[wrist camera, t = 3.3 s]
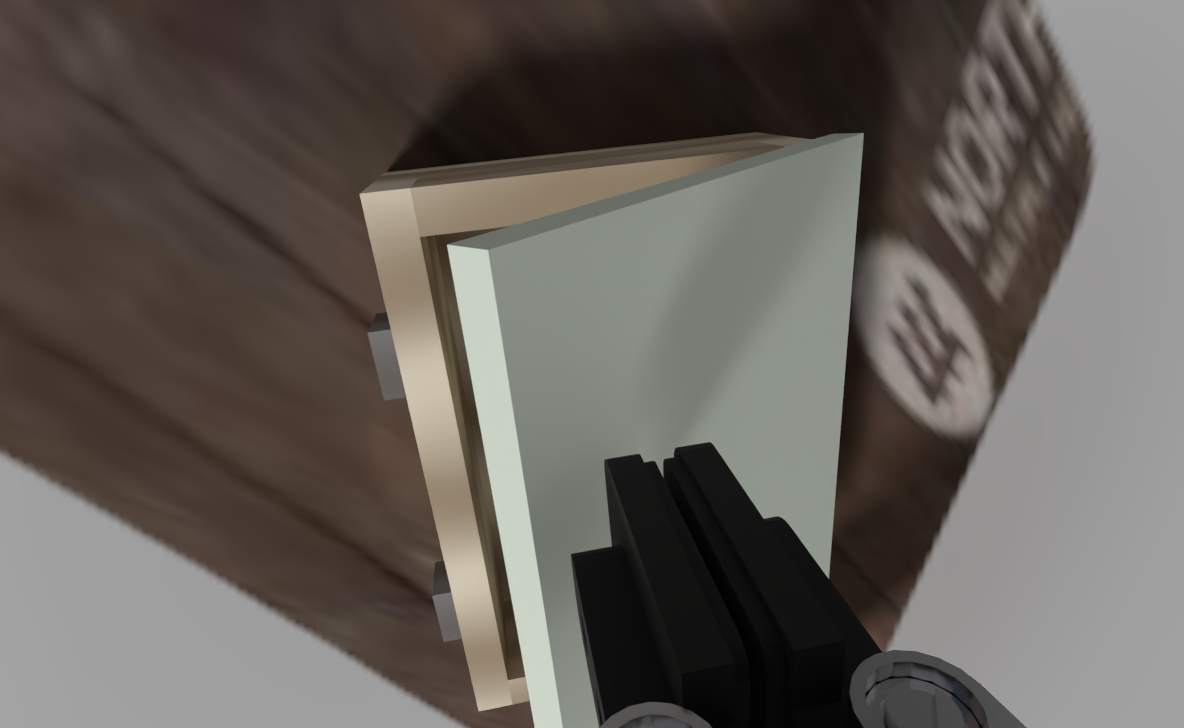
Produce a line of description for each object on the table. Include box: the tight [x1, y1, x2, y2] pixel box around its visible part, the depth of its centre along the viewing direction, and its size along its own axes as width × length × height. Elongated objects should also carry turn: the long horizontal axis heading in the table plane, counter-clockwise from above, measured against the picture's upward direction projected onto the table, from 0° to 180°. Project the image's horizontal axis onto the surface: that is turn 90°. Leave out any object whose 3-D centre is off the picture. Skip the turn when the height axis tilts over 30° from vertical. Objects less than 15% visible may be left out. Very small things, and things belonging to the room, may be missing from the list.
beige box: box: [360, 132, 812, 711], centre depth 22 cm, size 18×13×5 cm
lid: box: [447, 133, 864, 728], centre depth 16 cm, size 18×12×1 cm
